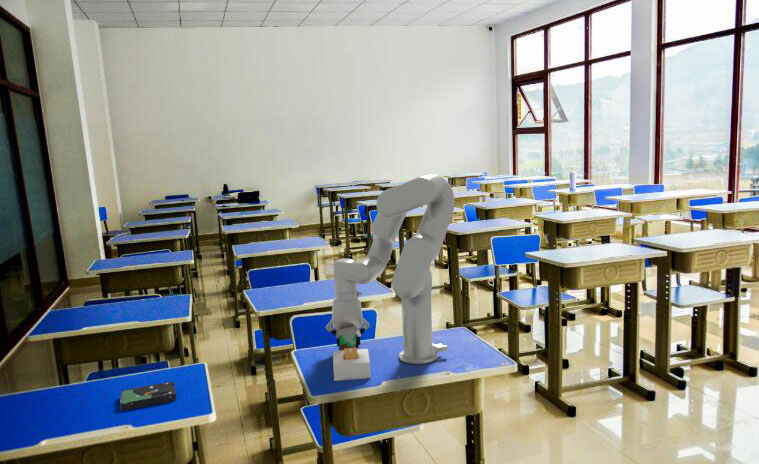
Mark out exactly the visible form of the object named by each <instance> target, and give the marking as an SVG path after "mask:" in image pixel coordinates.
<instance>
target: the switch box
mask: <svg viewBox="0 0 759 464" xmlns="http://www.w3.org/2000/svg"><path fill="white" fill-rule="evenodd" d="M357 354H358V359H347V360H345V356H344V350H342V351H340V350H335V351H334V350H333V351H332V359H333V360H332V362H333V364H332V365H333V380H334V382H337V381H338V382H339V381H350V380H351V381H352V380H363V379H371V377H372V374H371V361H370V353H369V349H368V348H360V349H359V348H357Z"/></svg>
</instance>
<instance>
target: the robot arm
mask: <svg viewBox="0 0 759 464" xmlns="http://www.w3.org/2000/svg"><path fill="white" fill-rule="evenodd" d="M426 205H427V206H426ZM455 205H456V204H455V195H454V190H453V188H452V186H451V185H450V184H449V182H448V181H447V180H446V179H445V178H444V177H442V176H441V175H440V174H435V173H429V174H423V175H421V176H418V177H416V178H413V179H410V180H408V181H406V182H404V183H401V184H399V185H397V186H394V187H391V188H388V189H386V190H383V191H382V192H381V193H380V194H378V197H377V199H376V209H377V214H376V215H375V218H374V220H373V222H372V225H371V227H370V232H371V233H372V234H371V235H372V237H373V239H372V243H371V246H370V249H369V250H368V253H367V254H366V257H365V258H363V259H362V260H359V261H355V259H352V258H339V259H336V260H334V263H333V282H334V285H333V286H334V299H333V300H332V309H331V310H332V311H331V319H330V321H329V322H328V323H327V324H326V326H325V330H326V331H328V332H329V333H330V334H331V335H332V336H334V337H335V338H336V347H338V351H340V338H339V329H340V328H349V327H352V326H354V325H355V326H356V327H357V329H358V331H356V333H357V337H356V348H357V349H359V348H360V346H361V336H362V335H363V334H364V333H365V332H366V330H368V329H369V328H370V326H371V324H370V323H369V322H368V321H367V320H366V319H365V318H364V317H363V311H362V310H363V309H362V304H361V299H360V296H362V295H363V293H362V291H359V290H358V285H359V284H360V285H368V284H370V283H371V282H373V281H374V280H375V279H377V278H378V277H380V276H381V275H382V274H383V272H384V270H385V269H386V267H387V264H388V263H389V261H390V258H391V255H392V253H393V249H394V245H395V242H396V241H395V240H396V238H397V236H398V233H399V231H400V229H401V227H402V224H403V222H404V220H405V218H406V217H407V213H409V212H410V211H413V210H416V209H418V208H421V207H423V206H426V208H425V211H424V213H423V216H422V217H421V218H422V219H421V222H420V225H419V226H418V229H417V231H416V233H415V235H413V236H412V237H411V238H409V239H408V240H407V241H406V243H404V246H403V248H402V251H401V253H400V255H399V258H398V261H397V264H396V267H395V270H394V273H393V276H392V278H391V279H392V280H391V287H392V290H393V291H394V293H395V295H396V296H397V297H399V298H401V320H402V340H403V341H402V342H403V350H402V351H400V352H399V354H398V359H399V360H400V361H401V362H402V363H406V364H410V365H424V364H429V363H432V362H435V361H436V360H438V357H439V354H438V353H440V352H443V353H444V352H448V345H443V344H442V343H438V344H436V343H434V341H433V320H432V319H433V318H432V289H433V288H432V287H433V275H432V271H431V269H430V266H431V264H432V262H433V261H434V260H435V259H437V258H438V257H439V254H440V252H441V249H442V245H443V243H444V240H445V237H446V234H447V232H448V229H449V226H450V223H451V219H452V217H453V213H454V210H455Z"/></svg>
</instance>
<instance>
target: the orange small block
mask: <svg viewBox="0 0 759 464" xmlns="http://www.w3.org/2000/svg"><path fill="white" fill-rule="evenodd" d="M357 349H358V348H346V349H344V356H345V360H347V359H358V354H357Z"/></svg>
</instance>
